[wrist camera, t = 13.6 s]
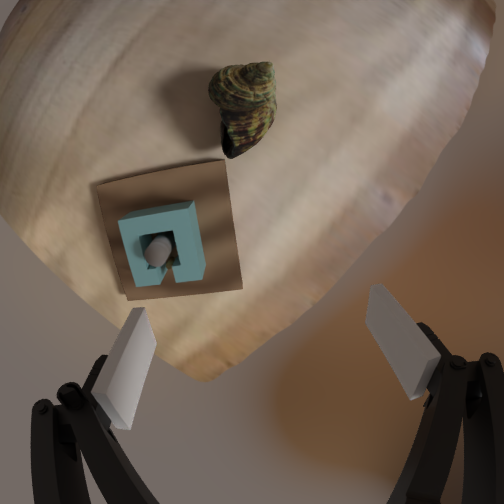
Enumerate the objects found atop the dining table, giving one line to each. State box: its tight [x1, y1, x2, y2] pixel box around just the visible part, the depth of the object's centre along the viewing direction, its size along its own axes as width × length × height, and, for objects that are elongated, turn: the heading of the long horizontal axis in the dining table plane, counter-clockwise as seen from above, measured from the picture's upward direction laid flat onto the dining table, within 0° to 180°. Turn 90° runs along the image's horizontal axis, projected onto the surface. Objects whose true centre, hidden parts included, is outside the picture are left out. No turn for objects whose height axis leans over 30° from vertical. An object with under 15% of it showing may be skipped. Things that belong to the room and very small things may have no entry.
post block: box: [96, 160, 243, 301], centre depth 38 cm, size 20×20×9 cm
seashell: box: [208, 62, 277, 159], centre depth 32 cm, size 11×11×10 cm
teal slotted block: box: [118, 201, 206, 287], centre depth 38 cm, size 10×10×5 cm
